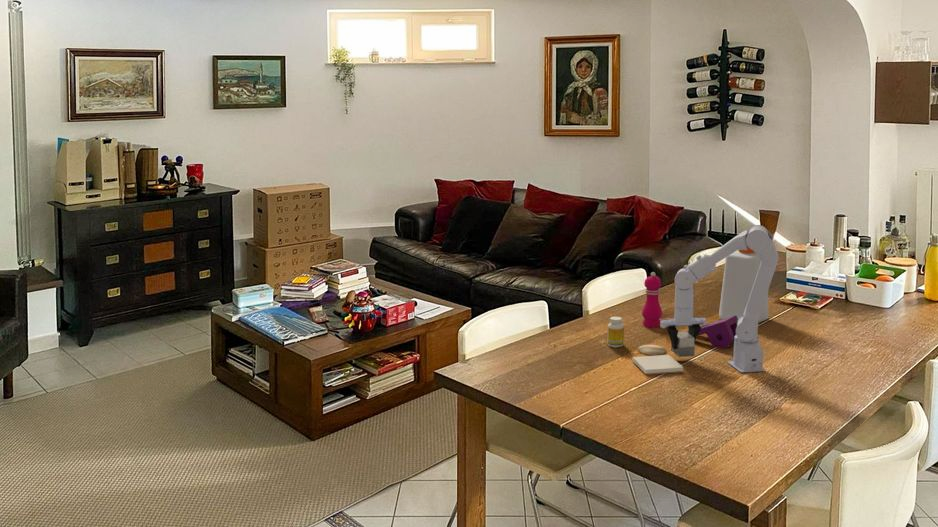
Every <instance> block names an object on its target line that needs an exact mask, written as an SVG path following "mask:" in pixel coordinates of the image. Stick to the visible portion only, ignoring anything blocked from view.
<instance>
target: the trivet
mask: <svg viewBox="0 0 938 527" xmlns="http://www.w3.org/2000/svg"><path fill="white" fill-rule="evenodd" d="M632 362H633V363H634V364H635V366H636V367H638V368H639V370H641V372H643V374H645V375H646V376H648V375H649V376H650V375H663V374H664V375H665V374H679V373H680V374H681V373H682V372H684V367H683V366H682V365H681V364H680V363H679V362H678V361H676V359H675V358H673V357H672V356H671V355H669V354H661V355H648V356H647V355H645V356H632Z"/></svg>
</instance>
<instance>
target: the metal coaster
mask: <svg viewBox="0 0 938 527" xmlns="http://www.w3.org/2000/svg"><path fill="white" fill-rule="evenodd" d="M666 350H667V348H666V347H664V346H662V345H657V344H643V345H639V346H638V347H637V351H638V352H639V353H640V354H643V355H646V356H647V355H648V356H658V355H665V353H666Z"/></svg>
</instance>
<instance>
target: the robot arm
mask: <svg viewBox="0 0 938 527" xmlns="http://www.w3.org/2000/svg"><path fill="white" fill-rule="evenodd" d="M748 247H749V248H750V249H752V250H753V251H754V252H756V253H757V255H758V256H759V258H760V259H761V264H760V267H759V270H758V273H757V276H756V279H755V282H754V285H753V288H752V291H751V294H750V297H749V300H748V303H747V306H746V308H745V310H744V313H743V315H742V316H741V317H740V318H739V319H738V321H737V328H736V335H735V336H734V343H733V357H732V359H733V360H728V361H727V363H728V364H729V365H730V366H731V367H733V368H734V369H736V370H737V371H738V372H739V373H755V372H766V369H765V368H764V366H763V364H764V350H763V348H762V346H761V345H760V337H759V336H758V327H759V323H758V320H759V316H760V313H761V310H762V307H763V304H764V301H765V298H766V295H767V292H768V293H769V288H770V285H771V283H772V280H773V277H774V274H775V271H776V269H777V265H778V262H779V253H778V250H777V247H776V244H775V241H774V238H773V235H772V234H771V232H770V231H769V230H768V229H767V228H766V227H765V226H763V225H761V224H757V225H753V226H750V227H749V229H746V230H744V231H742V232H741V233H739V234H737V235H735V236H734V237H732V239H729V240H728V241H726V243H724V244H723V245H722V246H721V247H719V248H717V250H715V251H714V252H712V253H711V254H706V253H705V254H702V255H701V254H699V255H697V256H696V259H695V260H694V261H692V262H690V263H689V264H685V265H684V266H683V268H680V269H679V270H678V271H677V273H676V274H675V276H674V285H675V286H674V287H675V288H674V289H675V292H674V307H673V308H674V311H673V312H674V316H673V318H669V319H664V320H660V326H659V327H660V328H661V329H665V330H666V331H667V334H668V336H669V338H670V345H671V344H672V348H673V349H676V348H677V335H678V332H679V330H678V329H677V327H687V328H688V330H689V334H690V335H692V336H693V337H694V344H695V342H696V340H697V337H698V334H699V332H700V331H701V327H700V326H702V325H706V324H707V318H705V317H694V282H698V281H700V280H701V279H703V278H704V277H706V276H707V275H709V274H710V273H712V272H713V271H715V270H716V268H717V267H716V266H717V264H718V263H719V262H721V261H723V260H724V259H726V257H727V256H729V255H730V254H732V253H734V252H735V251H738V250H747V249H748Z"/></svg>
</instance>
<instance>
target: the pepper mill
mask: <svg viewBox="0 0 938 527" xmlns="http://www.w3.org/2000/svg"><path fill="white" fill-rule="evenodd" d="M644 287H645V288H646V289H645V294H646V300H645V303H644V305H643V307H642V310H641V316H642V317H643V318H644V319H643V320H642V325H643V326H644V327H646V328H658V327H660V321H661V320H660V319H661V318H662V316H663V311H662V310H663V309H662V307H661V305H660V301H659V295H660V291H661V289H660V288H661V287H662V279H661V278H659V276H657V275H656V272H654V271H652V272H651V273H650V276H647V277H645V280H644Z"/></svg>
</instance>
